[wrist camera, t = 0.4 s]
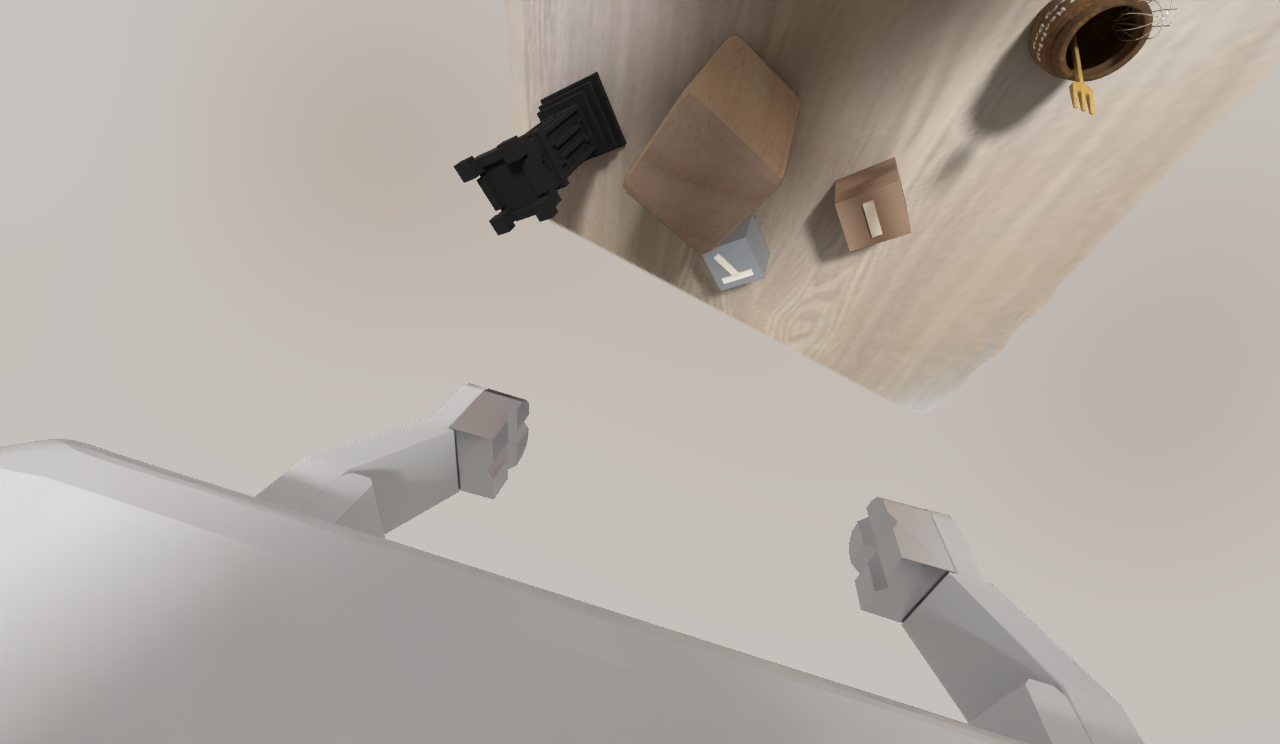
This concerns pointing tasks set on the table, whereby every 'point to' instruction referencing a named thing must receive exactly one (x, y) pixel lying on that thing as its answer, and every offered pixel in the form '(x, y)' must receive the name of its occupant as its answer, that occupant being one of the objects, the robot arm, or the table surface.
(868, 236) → the walnut numbered cube
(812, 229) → the table surface
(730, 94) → the block
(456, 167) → the chess piece
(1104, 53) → the utensil holder
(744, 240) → the slate numbered cube
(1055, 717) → the robot arm
